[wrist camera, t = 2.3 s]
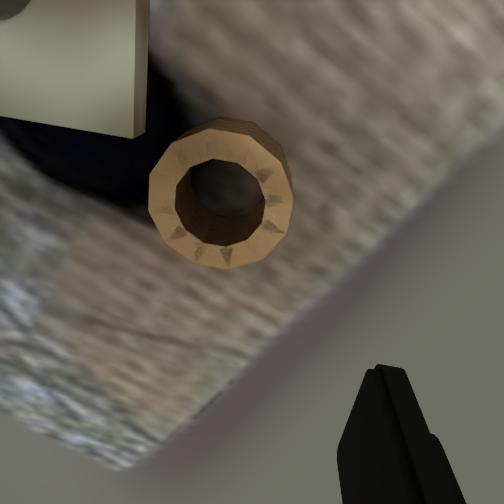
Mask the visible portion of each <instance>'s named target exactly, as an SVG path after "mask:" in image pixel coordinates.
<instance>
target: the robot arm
mask: <svg viewBox="0 0 504 504" xmlns="http://www.w3.org/2000/svg"><path fill="white" fill-rule="evenodd" d="M337 464H338V472H339V480H340V487H341V494H342V502H343V504H466V502H465V499H464V497H463V495H462V492H461V490H460V487H459V485H458V483H457V480H456V478H455V476H454V473H453V471H452V468H451V466H450V463H449V461H448V459H447V456H446V454H445V451H444V449H443V447H442V445H441V443H440V441H439V439H438V438H437V437H436V436H435V435H434V434H430V432H429V429H428V427H427V424H426V422H425V419H424V417H423V414H422V412H421V409H420V407H419V404H418V402H417V399H416V397H415V394H414V392H413V389H412V387H411V384H410V382H409V379H408V377H407V374H406V372H405V370H404V369H402V368H398V367H393V366H387V365H380V364H377V365H376V366H375V368H374V370H373V369H368V370H367V371H366V373H365V376H364V379H363V381H362V384H361V387H360V389H359V392H358V395H357V397H356V400H355V402H354V405H353V408H352V410H351V413H350V416H349V418H348V421H347V424H346V426H345V429H344V432H343V434H342V437H341V440H340V442H339V445H338V450H337Z"/></svg>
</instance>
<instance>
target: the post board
mask: <svg viewBox="0 0 504 504" xmlns="http://www.w3.org/2000/svg"><path fill="white" fill-rule="evenodd" d="M149 2H150V0H0V116H5V117H10V118H16V119H22V120H28V121H33V122H39V123H45V124H51V125H57V126H62V127H68V128H74V129H80V130H85V131H91V132H97V133H103V134H108V135H114V136H120V137H126V138H132V139H134V138H136V137H137V136H139V135H141V134H143V133H145V125H146V94H147V64H148V33H149Z"/></svg>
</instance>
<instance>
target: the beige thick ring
mask: <svg viewBox="0 0 504 504" xmlns="http://www.w3.org/2000/svg"><path fill="white" fill-rule="evenodd" d="M210 159H218V160H224V161H230V162H236V163H239V164H240V165H241V166H242V167H243V168H245V169H246V170H247V171H248V172H250V173H251V174H252V175H253V176H255V177H256V178H257V179H258V182H259V184H260V187H261V190H262V192H263V195H264V197H265V198H264V199H263V200H262V202H261V203H260V204H259V205H258V206H257V207H256V208H255V210H254V211H253V212H252V213H249V214H246V215H243V216H240V217H237V218H228V217H222V216H216V215H214V214H213V213H211V212H210V211H209V210H207V209H206V208H205V207H203V206H202V205H201V204H199V202H198V200H197V197H196V195H195V193H194V191H193V189H192V187H191V179H192V168H193V166H194V165H197V164H200V163H202V162H205V161H208V160H210ZM293 201H294V194H293V185H292V176H291V174H290V171H289V168H288V165H287V162H286V159H285V156H284V153H283V150H282V147H281V145H280V144H279V143H277V142H276V141H275V140H274V139H273V138H272V137H270V136H269V135H268V134H267V133H266V132H265V131H263V130H262V129H261V128H260V127H259V126H258V125H256V124H255V123H252V122H247V121H241V120H235V119H229V118H224V117H219V118H217V119H214V120H212V121H209V122H207V123H204V124H202V125H199V126H197V127H194V128H192V129H189V130H188V131H187V132H185V133H184V134H183V135H181V136H180V137H179V138H178V139H176V140H175V141H174V142H172V143H171V144H170V146H169V147H168V149H167V150H166V152H165V153H164V155H163V156H162V157H161V159H160V160H159V162H158V163H157V165H156V166H155V167H154V169H153V170H152V172H151V173H150V180H149V205H148V211H149V213H150V215H151V217H152V219H153V221H154V223H155V225H156V226H157V228H158V230H159V232H160V234H161V236H162V238H163V240H164V242H165V243H166V244H167V245H169V246H170V247H172V248H173V249H174V250H176V251H177V252H179V253H180V254H181V255H183V256H184V257H186V258H187V259H188V260H190V261H191V262H193V263H194V264H199V265H204V266H210V267H216V268H222V269H228V270H230V269H233V268H236V267H240V266H243V265H246V264H249V263H252V262H256V261H259V260H262V259H263V258H264V257H265V256H266V255H267V254H268V253H269V252H270V251H271V250H272V249H273V248H274V247H275V246H276V245H277V244H278V242H279V241H280V240H281V239H282V238H283V237H284V236H285V235H286V233H287V229H288V224H289V219H290V215H291V210H292V206H293Z"/></svg>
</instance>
